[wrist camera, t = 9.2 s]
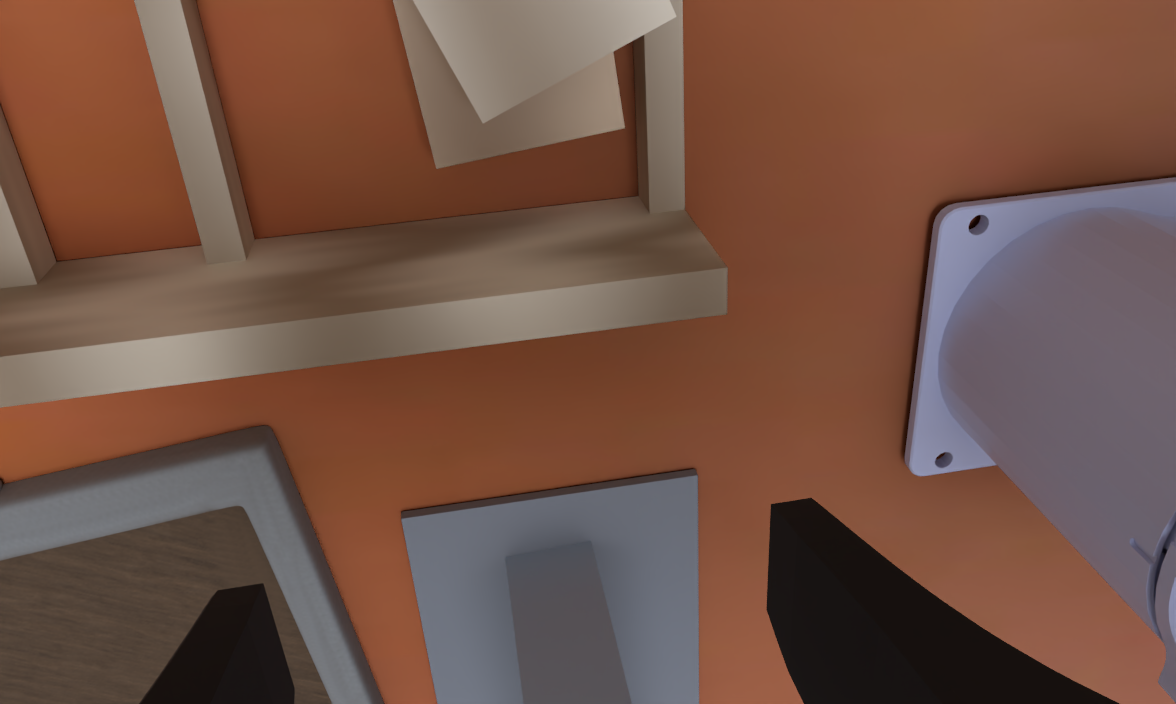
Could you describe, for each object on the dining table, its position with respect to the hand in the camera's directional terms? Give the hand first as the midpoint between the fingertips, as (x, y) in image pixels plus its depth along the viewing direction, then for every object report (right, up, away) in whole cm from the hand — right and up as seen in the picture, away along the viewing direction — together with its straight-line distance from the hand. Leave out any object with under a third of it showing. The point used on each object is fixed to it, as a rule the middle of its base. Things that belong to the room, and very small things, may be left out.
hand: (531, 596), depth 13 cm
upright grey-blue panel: (0, -5, +15) cm, 16 cm away
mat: (0, -5, +15) cm, 16 cm away
